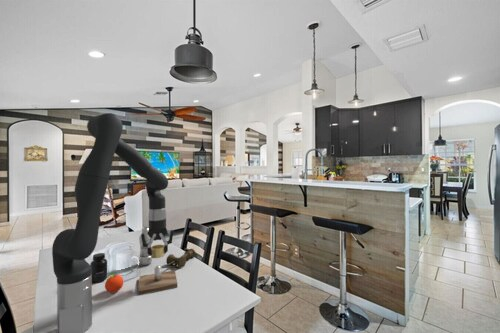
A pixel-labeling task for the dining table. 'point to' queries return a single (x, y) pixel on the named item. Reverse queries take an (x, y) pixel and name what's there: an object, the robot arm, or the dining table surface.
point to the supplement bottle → (99, 268)
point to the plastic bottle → (144, 249)
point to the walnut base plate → (157, 282)
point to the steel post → (157, 273)
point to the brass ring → (157, 251)
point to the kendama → (180, 258)
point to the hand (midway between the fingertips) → (157, 253)
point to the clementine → (114, 283)
